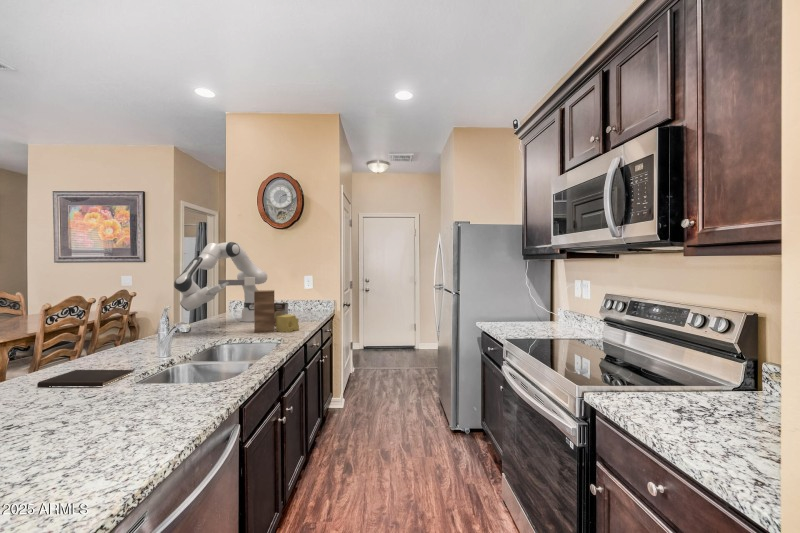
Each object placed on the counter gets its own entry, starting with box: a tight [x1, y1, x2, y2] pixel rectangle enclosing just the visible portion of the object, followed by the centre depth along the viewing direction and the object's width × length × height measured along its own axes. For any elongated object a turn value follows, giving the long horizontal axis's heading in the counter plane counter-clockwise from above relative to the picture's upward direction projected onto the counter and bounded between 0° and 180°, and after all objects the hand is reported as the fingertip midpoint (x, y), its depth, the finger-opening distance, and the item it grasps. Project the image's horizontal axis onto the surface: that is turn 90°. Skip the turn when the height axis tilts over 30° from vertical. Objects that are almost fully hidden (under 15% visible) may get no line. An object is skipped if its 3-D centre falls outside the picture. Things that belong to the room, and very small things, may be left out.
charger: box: [218, 277, 256, 287], centre depth 241 cm, size 6×21×5 cm, turn 108°
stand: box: [253, 289, 275, 334], centre depth 246 cm, size 12×13×26 cm
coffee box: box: [274, 302, 289, 327], centre depth 266 cm, size 9×6×16 cm
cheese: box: [275, 313, 300, 333], centre depth 247 cm, size 10×11×10 cm
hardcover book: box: [36, 369, 135, 388], centre depth 141 cm, size 16×23×2 cm
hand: (229, 282), depth 239 cm, fingers closed on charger, 3 cm apart
